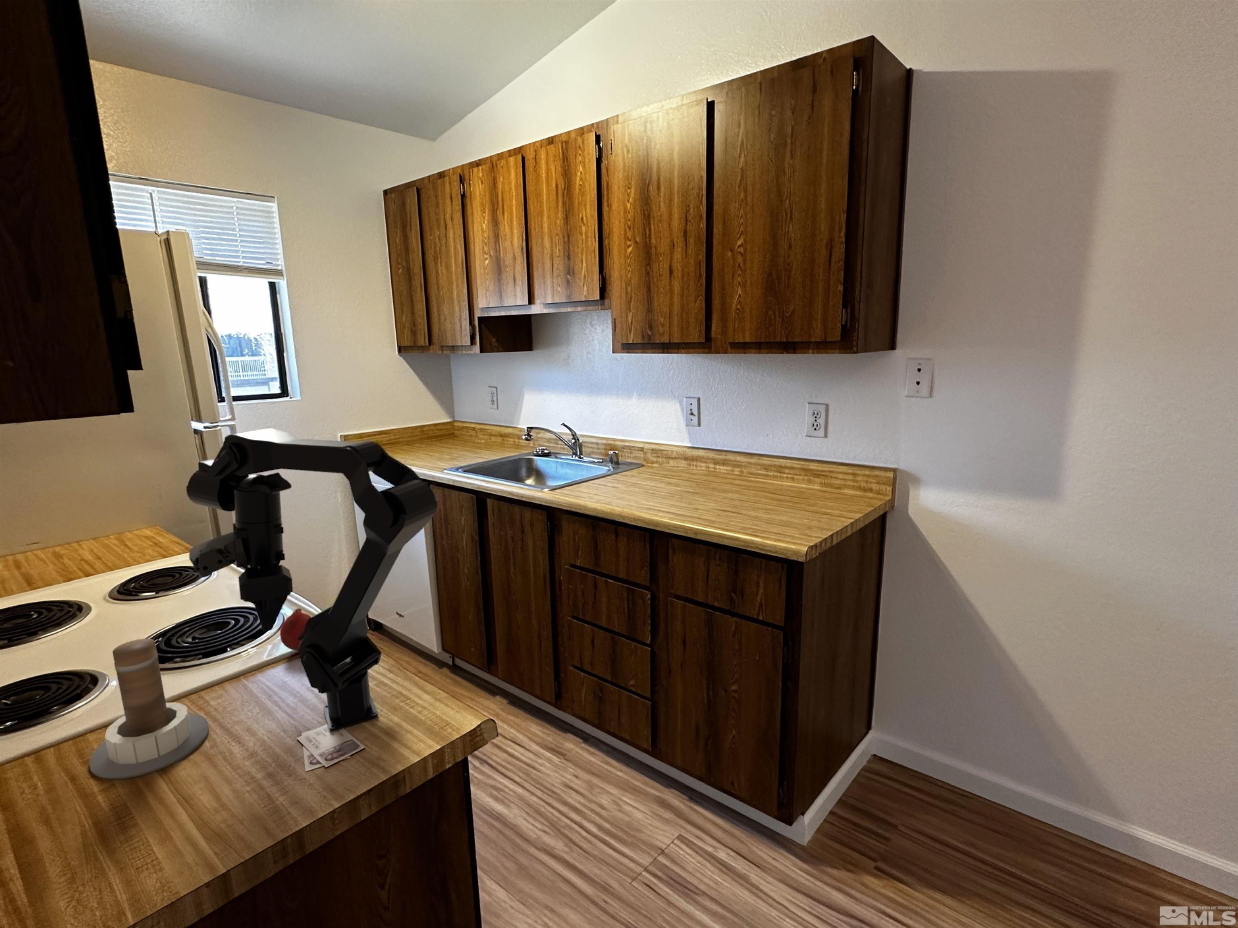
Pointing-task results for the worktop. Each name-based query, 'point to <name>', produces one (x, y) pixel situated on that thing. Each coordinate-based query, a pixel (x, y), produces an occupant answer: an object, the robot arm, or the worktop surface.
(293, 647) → the onion
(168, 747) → the holder cup
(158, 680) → the pepper mill
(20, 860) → the worktop surface
